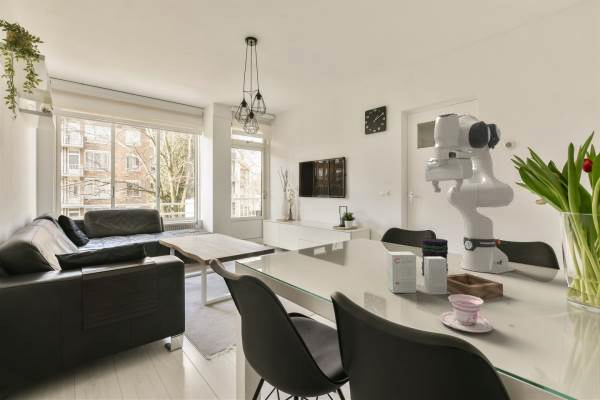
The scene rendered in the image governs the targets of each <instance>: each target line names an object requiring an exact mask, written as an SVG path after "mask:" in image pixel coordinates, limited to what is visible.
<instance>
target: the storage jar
mask: <svg viewBox="0 0 600 400" xmlns="http://www.w3.org/2000/svg"><path fill="white" fill-rule="evenodd" d="M448 242H449V241H448V240H447V239H445V238H436V237H435V238H430V237H429V238H428V237H427V238H422V239H421V249H422V250H421V253H422V261H421V271H422V273H421V276H422V277H424V257H439V256H440V257H443V258H446V259H447V260H448V253H449V252H448V250H449V247H448V246H449V245H448ZM448 267H449V265H448V263H447V275H449V274H448V272H449V268H448Z"/></svg>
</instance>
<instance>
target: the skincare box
mask: <svg viewBox="0 0 600 400" xmlns="http://www.w3.org/2000/svg"><path fill="white" fill-rule="evenodd" d="M447 264H448V258H447V259H446V258H443V257H440V256H439V257H424V276H423V285H424V286H423V288H424V289H423V291H424V292H425V293H427V294H428V295H448V292H447V275H448V274H447V268H448V267H447Z"/></svg>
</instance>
